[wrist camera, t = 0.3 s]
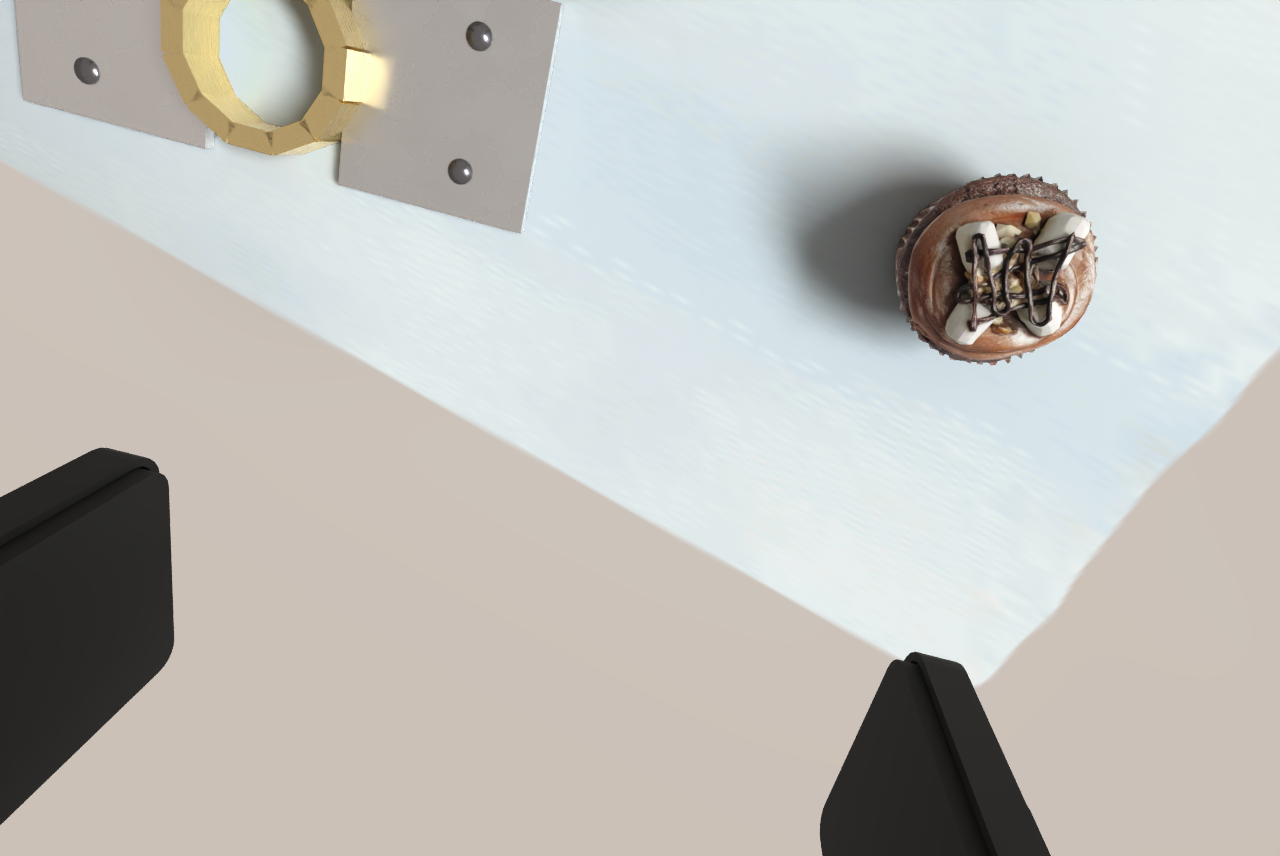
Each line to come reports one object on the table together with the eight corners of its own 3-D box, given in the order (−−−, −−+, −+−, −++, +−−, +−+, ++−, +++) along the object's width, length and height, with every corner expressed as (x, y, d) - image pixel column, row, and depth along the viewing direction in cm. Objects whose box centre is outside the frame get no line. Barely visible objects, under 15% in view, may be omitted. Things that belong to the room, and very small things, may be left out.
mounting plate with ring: (16, -142, 39) (-38, -163, 36) (564, 6, 39) (552, -4, 36) (34, 100, 43) (-12, 98, 40) (523, 231, 43) (510, 238, 40)
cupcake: (889, 356, 44) (933, 415, 35) (868, 191, 41) (912, 209, 31) (1059, 323, 42) (1154, 377, 33) (1053, 148, 39) (1156, 153, 30)
